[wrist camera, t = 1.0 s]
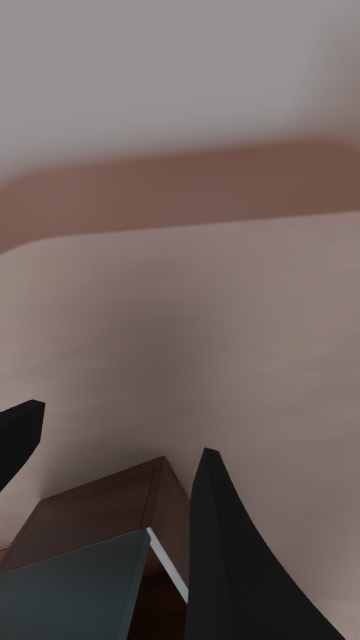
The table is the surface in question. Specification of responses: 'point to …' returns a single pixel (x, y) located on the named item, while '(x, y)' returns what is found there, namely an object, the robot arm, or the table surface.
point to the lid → (75, 593)
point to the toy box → (117, 520)
